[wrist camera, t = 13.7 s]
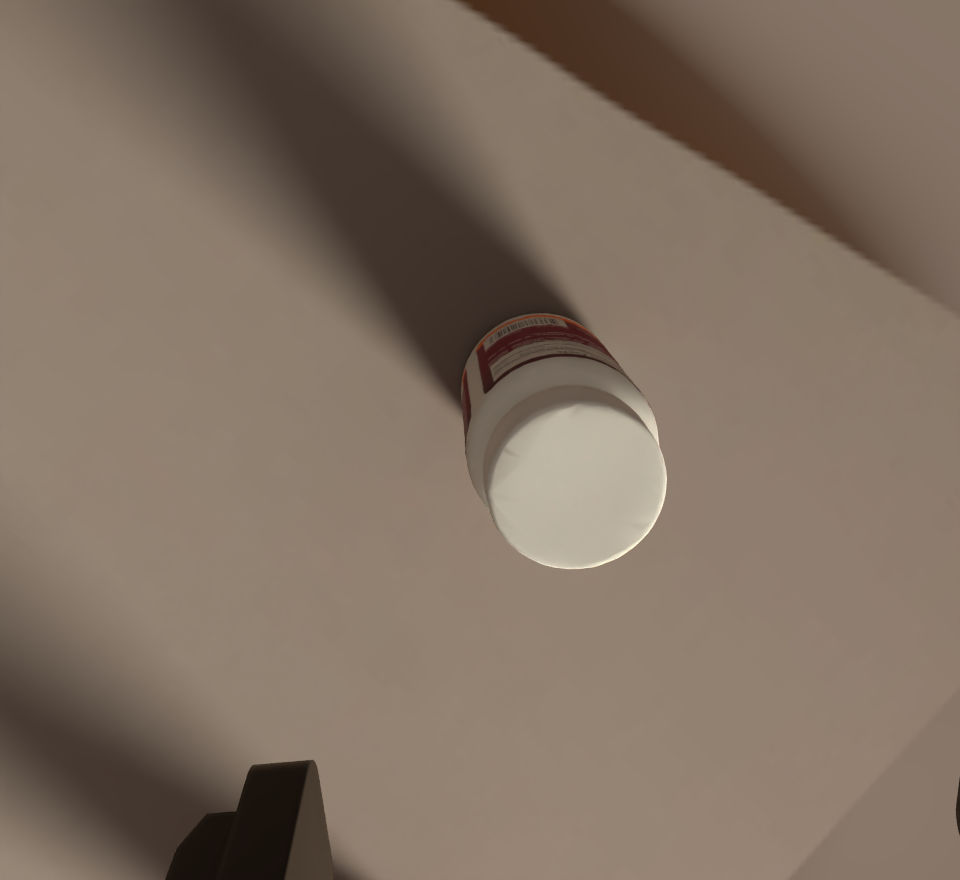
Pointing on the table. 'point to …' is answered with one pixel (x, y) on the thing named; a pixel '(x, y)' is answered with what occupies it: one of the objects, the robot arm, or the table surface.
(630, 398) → the pill bottle
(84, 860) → the table surface
